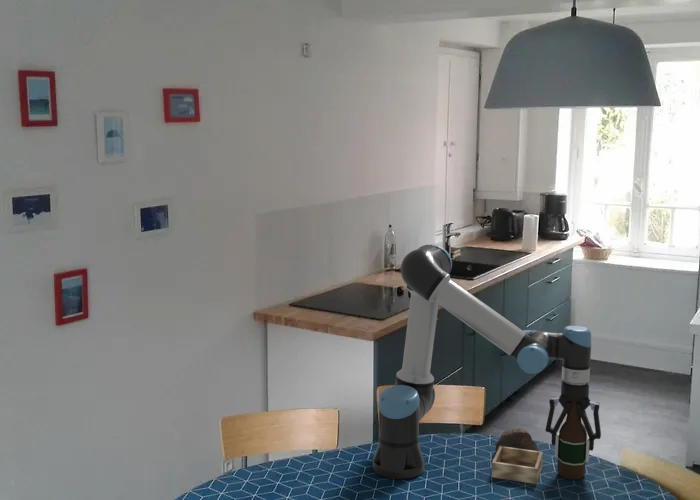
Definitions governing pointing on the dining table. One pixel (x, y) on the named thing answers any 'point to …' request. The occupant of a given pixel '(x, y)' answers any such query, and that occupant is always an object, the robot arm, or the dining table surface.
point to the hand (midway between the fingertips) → (571, 458)
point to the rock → (516, 440)
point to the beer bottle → (572, 446)
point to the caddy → (517, 464)
